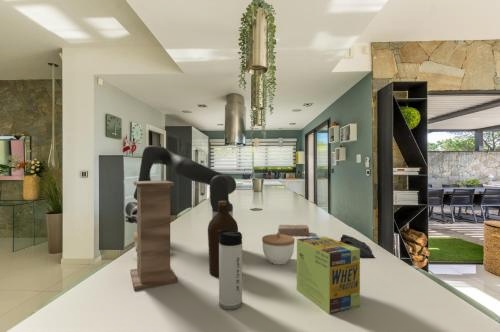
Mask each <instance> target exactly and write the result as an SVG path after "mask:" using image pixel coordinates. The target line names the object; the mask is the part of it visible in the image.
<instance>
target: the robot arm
mask: <svg viewBox="0 0 500 332" xmlns="http://www.w3.org/2000/svg"><path fill="white" fill-rule="evenodd" d="M158 164H159V165H164V166H167V167H169V168H171V169H172V170H173V171H174V172H175V174H176V175H177V176H179V177H181V178H184V179H186V180H189V181H191V182H196V183H200V184H206V185H209V201H210V202H209V203H210V206H211V219H212V218H213V217H214V216H215V215H216V214H217V213H218V205H219V203H218V201H227V205H228V213H229V214H230V215H231V216H232V217H233V218H234V214H233V213H234V206H233V205H234V204H232V202H230V199H229V195H230V194H232V193H234V192H235V191H236V190H237V183H236V180H235V178H234V177H233V176H232V175H229V174H226V173H223V172H219V171H216V170H213V169H211V168H210V167H208V166H205V165H203V164H201V163H198V162H197V161H195V160H193V159H190V158H188V157H184V156H182V155H179V154H176V153H174V152H172V151H171V150H169V149H167V148H166V147H164V146H160V145H153V144H152V145H146V146H145V147H144V150H143V151H142V155H141V162H140V167H139V175H138V180H137V181H152V179H151V169H152V167H153V165H158ZM133 199H134V200H136V201H129V202H128V203H127V204H126V205H125V208H124V211H125V214H126V215H125V217H124V218H125V219H124V221H125V222H126V223H129V224H134V223H135V224H136V225H137V186H135V190H134V193H133Z"/></svg>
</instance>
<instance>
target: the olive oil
mask: <svg viewBox="0 0 500 332" xmlns="http://www.w3.org/2000/svg"><path fill="white" fill-rule="evenodd" d="M218 203H219V205H218V213H217V214H216V215H215V216H214V217H213V218H212V217H211V219H210V221H208V226H207V243H208V244H207V245H208V265H209V267H208V268H209V269H208V271H209V274H210V275H211V276H213V277H216V278H219V237H220V234H218V230H234V231H238V232H239V227H238V226H239V225H238V222H237V220H236V219H235V218H234V216H233V217H232V216H231V215H230V214H229V213H228V205H227V201H218Z"/></svg>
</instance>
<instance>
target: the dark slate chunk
mask: <svg viewBox="0 0 500 332" xmlns="http://www.w3.org/2000/svg"><path fill="white" fill-rule="evenodd" d="M338 241H339V242H342V243H345V244H347V245H350V246H353V247H356V248H359V249H360V258H367V259H375V258H376V257H374V256H375V255H374V254H372V253H373V252H372V250H371V248H370V247H369V246H368V244H367V243H366V242H364V241H362V240H359V239H357V238H355V237H353V236H350V235H347V234H342V236H341V237H340V240H338Z"/></svg>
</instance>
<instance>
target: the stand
mask: <svg viewBox="0 0 500 332" xmlns="http://www.w3.org/2000/svg"><path fill="white" fill-rule="evenodd" d="M133 185H135V187H136V186H137V200H136V202H137V224H136V231H137V252H136V265H137V266H136V268H133V269H130V278H131V282H132V286H133V291H134V292H135V291H139V290H140V291H141V290H145V289H151V288H156V287H160V286H166V285H170V284H175V283H179V279H178V276H177V275H176V273H175V272H174V270H173V268H172V267H171V187H173V186H175V182H173V181H170V180H151V181H138V180H135V181H133Z"/></svg>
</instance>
